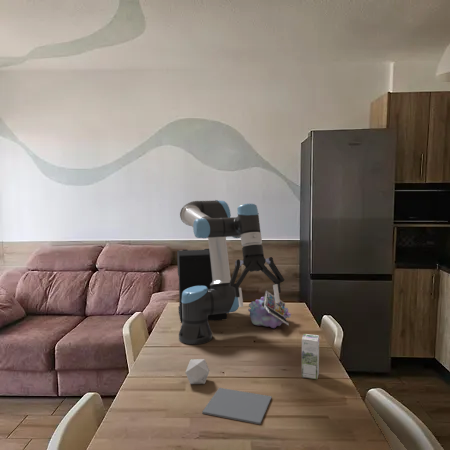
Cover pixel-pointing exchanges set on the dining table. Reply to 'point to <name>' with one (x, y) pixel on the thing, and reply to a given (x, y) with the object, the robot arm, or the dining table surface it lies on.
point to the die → (197, 371)
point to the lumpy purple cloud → (268, 311)
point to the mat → (238, 405)
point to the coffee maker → (195, 274)
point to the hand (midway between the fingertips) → (259, 304)
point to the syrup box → (310, 356)
